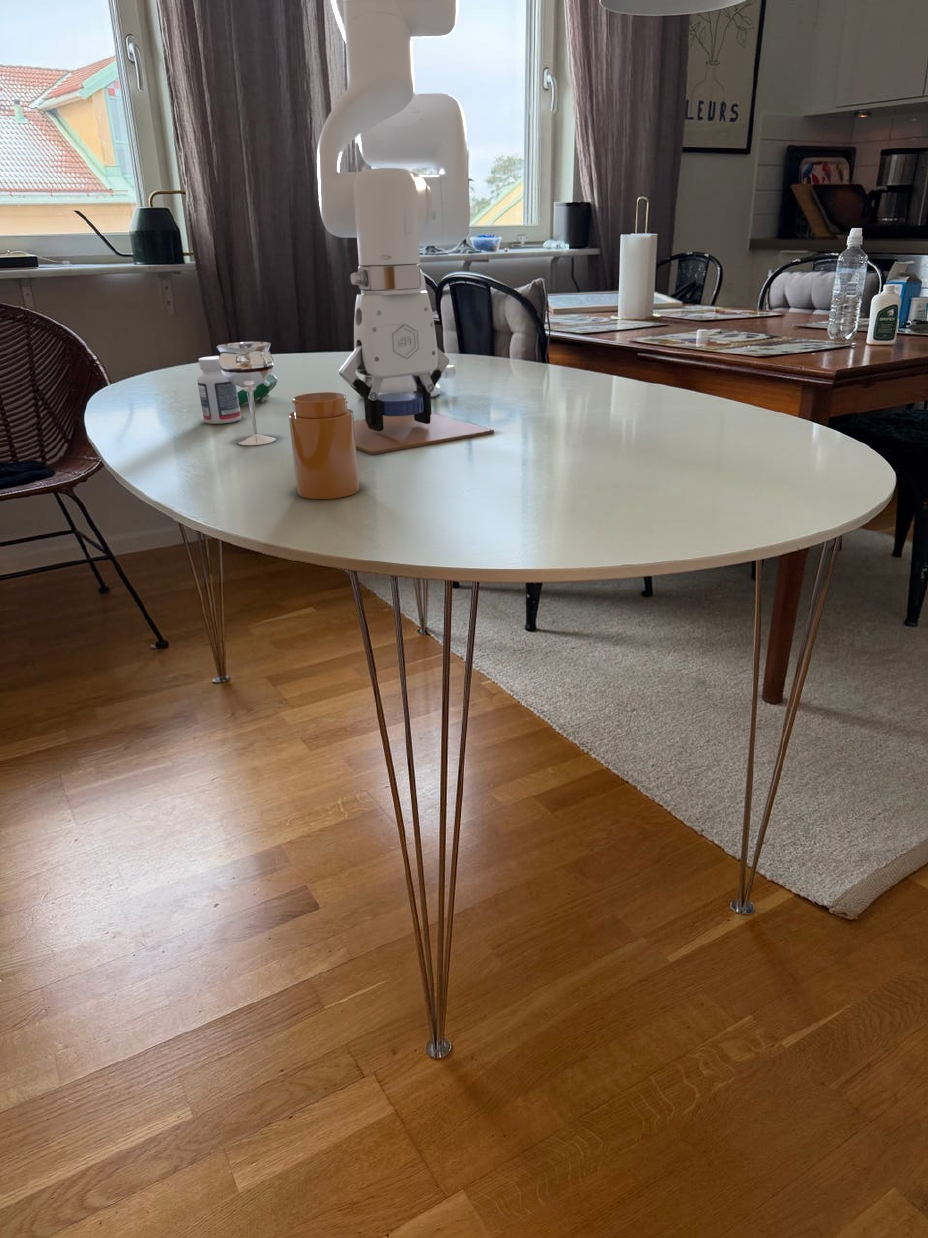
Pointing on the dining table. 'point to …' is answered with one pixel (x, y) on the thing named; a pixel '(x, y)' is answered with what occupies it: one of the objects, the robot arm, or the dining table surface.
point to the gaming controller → (259, 391)
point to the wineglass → (247, 375)
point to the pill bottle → (217, 393)
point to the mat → (412, 433)
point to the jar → (324, 446)
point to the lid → (401, 404)
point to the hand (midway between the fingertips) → (399, 424)
